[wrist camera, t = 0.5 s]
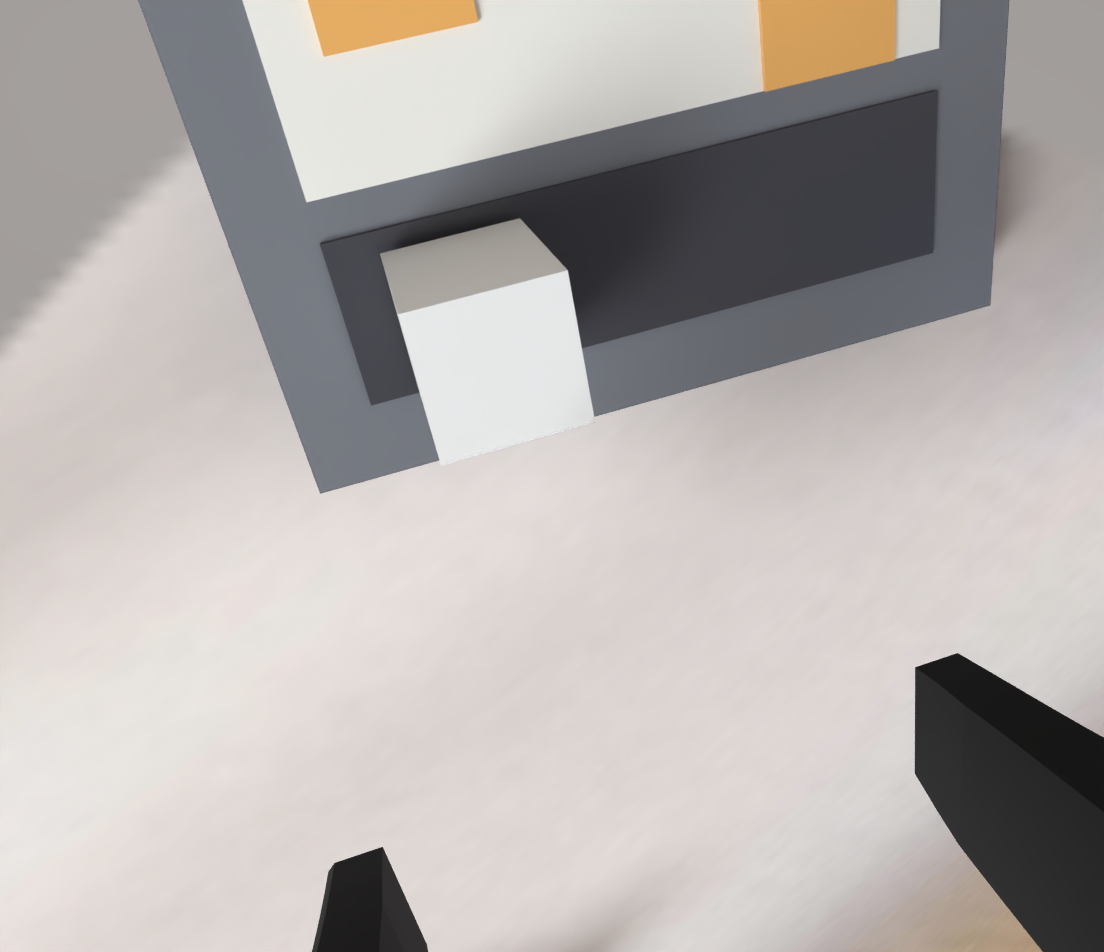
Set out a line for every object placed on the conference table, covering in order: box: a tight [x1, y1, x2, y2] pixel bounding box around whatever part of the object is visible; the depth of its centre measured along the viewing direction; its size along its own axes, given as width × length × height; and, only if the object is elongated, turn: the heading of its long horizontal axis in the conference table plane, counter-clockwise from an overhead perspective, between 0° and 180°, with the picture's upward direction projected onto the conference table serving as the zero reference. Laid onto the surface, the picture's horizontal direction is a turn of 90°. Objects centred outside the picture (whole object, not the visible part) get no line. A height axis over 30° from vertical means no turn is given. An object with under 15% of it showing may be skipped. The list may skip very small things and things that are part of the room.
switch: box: [380, 218, 595, 466], centre depth 15 cm, size 2×2×3 cm
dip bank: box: [138, 0, 1009, 494], centre depth 15 cm, size 14×14×2 cm
